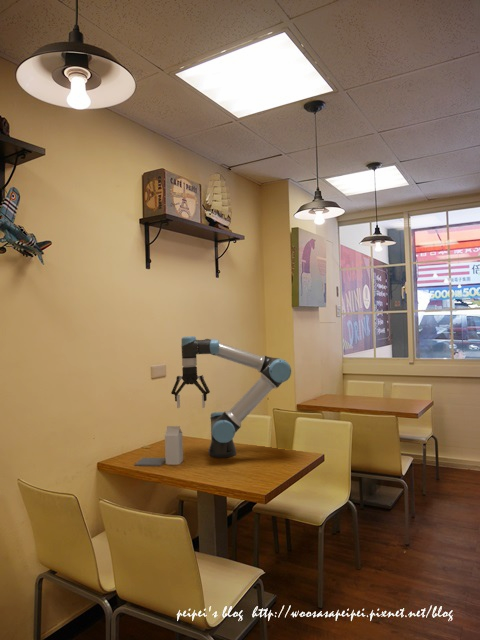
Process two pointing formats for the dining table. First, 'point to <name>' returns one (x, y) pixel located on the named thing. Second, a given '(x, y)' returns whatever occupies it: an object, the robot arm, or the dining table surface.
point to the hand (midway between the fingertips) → (191, 407)
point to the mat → (150, 462)
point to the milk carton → (173, 445)
